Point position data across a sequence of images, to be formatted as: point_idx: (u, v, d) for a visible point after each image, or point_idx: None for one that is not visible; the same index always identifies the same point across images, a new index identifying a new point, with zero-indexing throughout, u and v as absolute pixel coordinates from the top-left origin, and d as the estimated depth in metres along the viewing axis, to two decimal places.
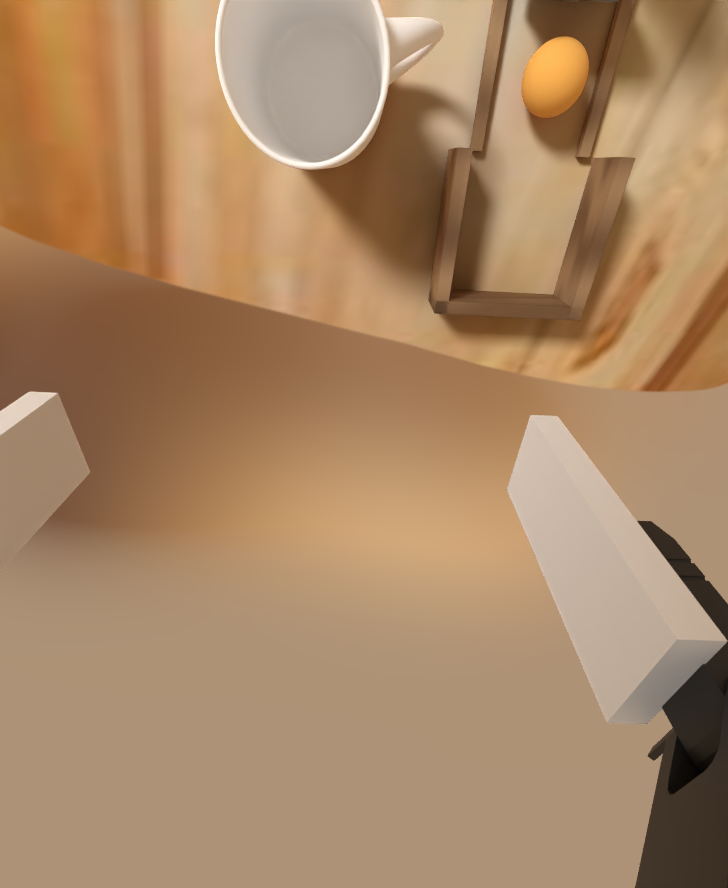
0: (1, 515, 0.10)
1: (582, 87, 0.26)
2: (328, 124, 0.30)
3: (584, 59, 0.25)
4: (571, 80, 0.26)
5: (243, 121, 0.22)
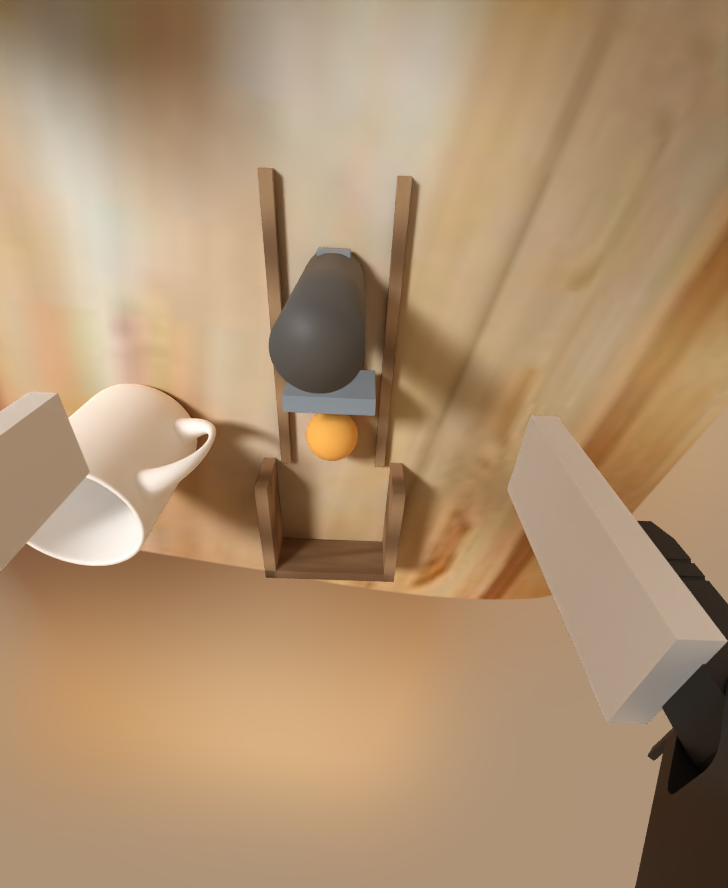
0: (1, 515, 0.10)
1: (351, 449, 0.31)
2: None
3: (346, 437, 0.30)
4: (336, 453, 0.31)
5: (34, 542, 0.27)
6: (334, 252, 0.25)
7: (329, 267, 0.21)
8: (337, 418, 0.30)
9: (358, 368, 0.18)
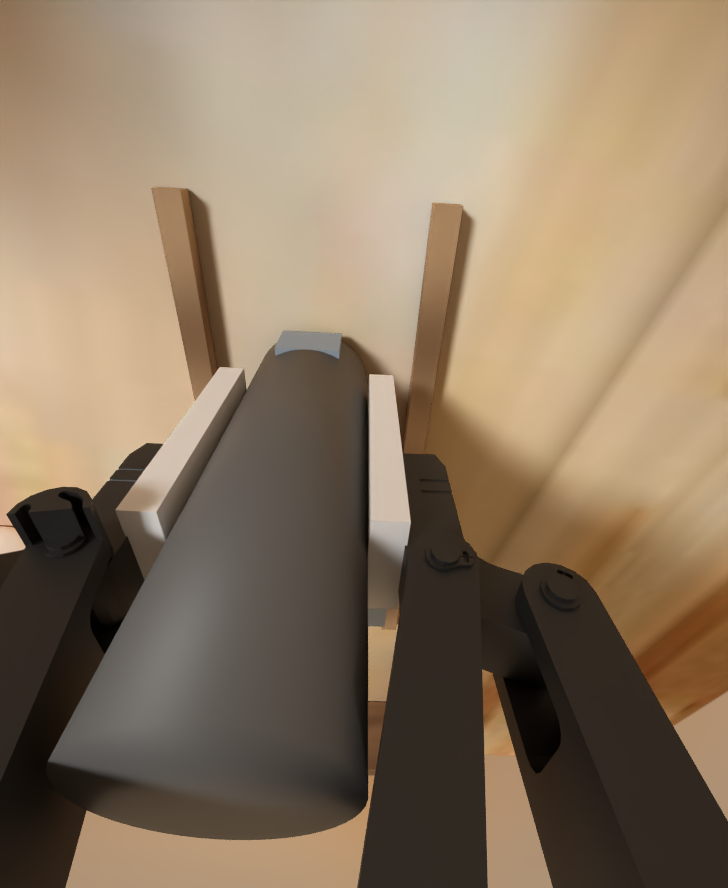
0: None
1: None
2: None
3: None
4: None
5: None
6: (309, 347, 0.13)
7: (288, 413, 0.10)
8: None
9: (348, 815, 0.06)
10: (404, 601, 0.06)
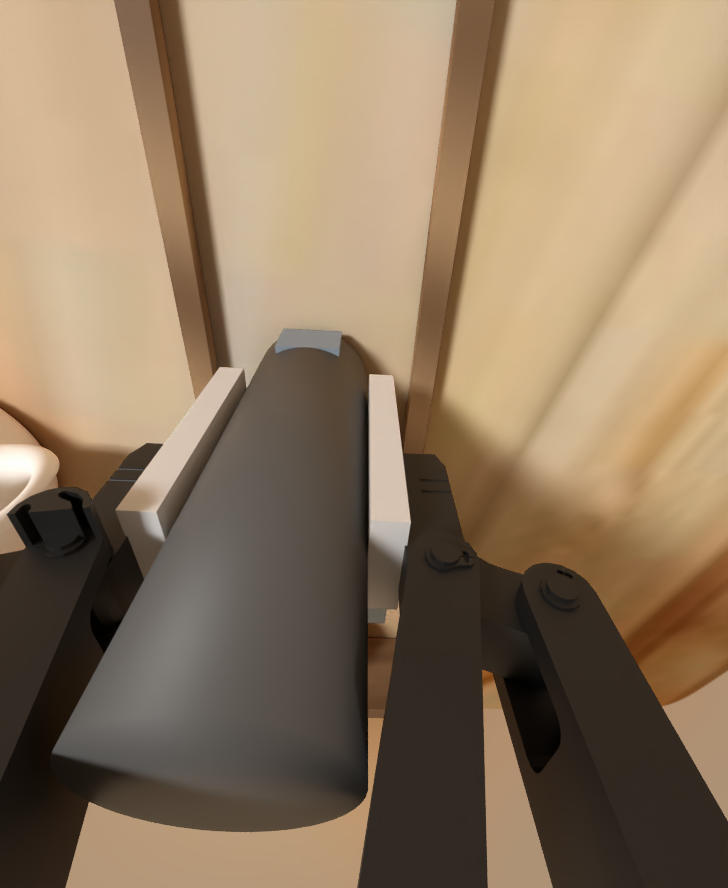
0: None
1: None
2: None
3: None
4: None
5: None
6: (309, 345, 0.13)
7: (288, 411, 0.10)
8: None
9: (348, 806, 0.06)
10: (404, 601, 0.06)
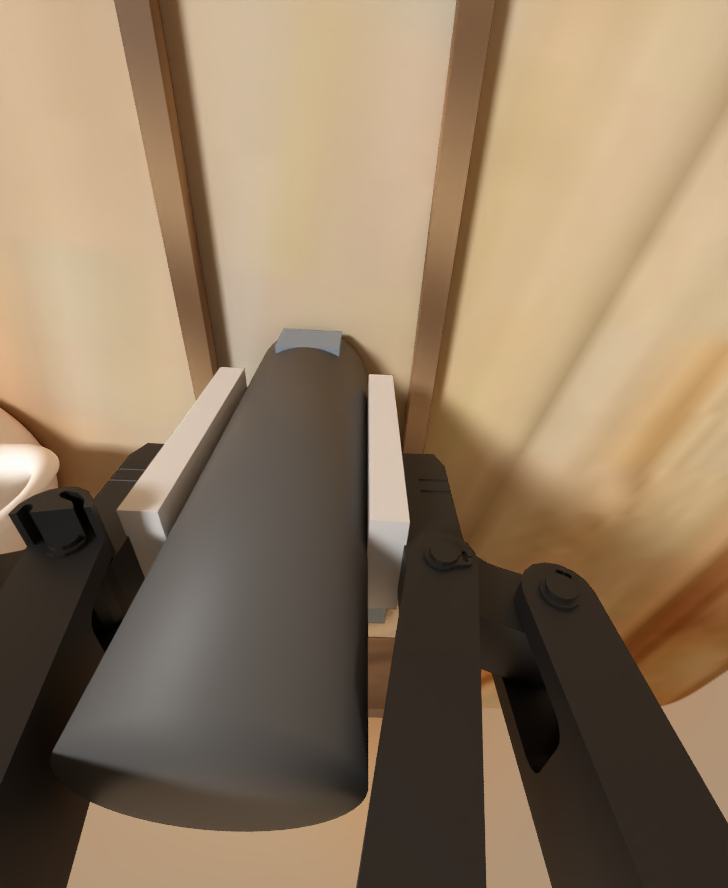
0: None
1: None
2: None
3: None
4: None
5: None
6: (309, 345, 0.13)
7: (288, 411, 0.10)
8: None
9: (348, 806, 0.06)
10: (403, 601, 0.06)
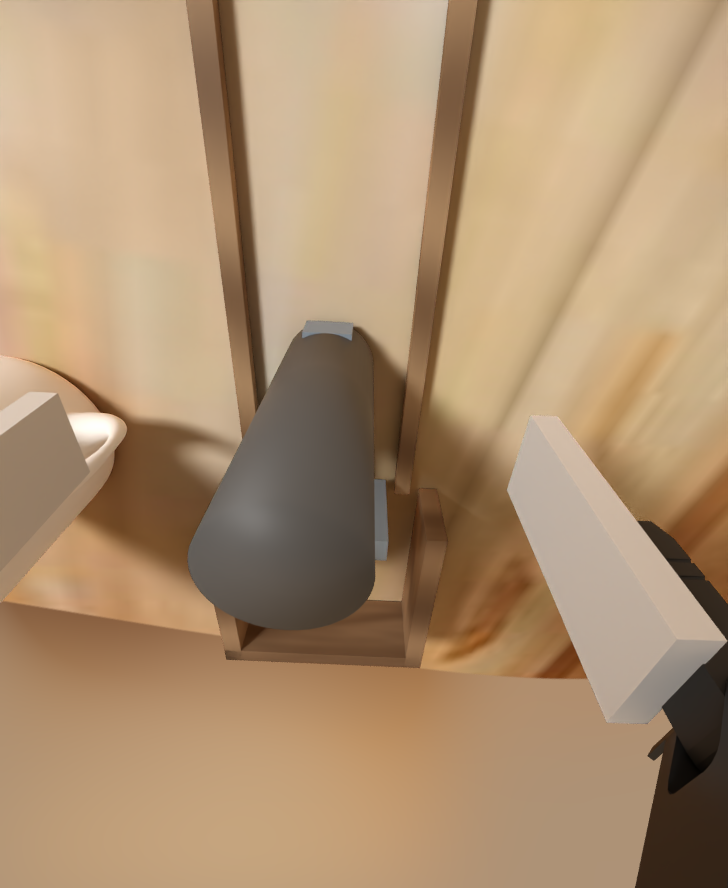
0: (1, 515, 0.10)
1: None
2: None
3: None
4: None
5: None
6: (328, 332, 0.17)
7: (317, 372, 0.13)
8: None
9: (362, 598, 0.09)
10: None
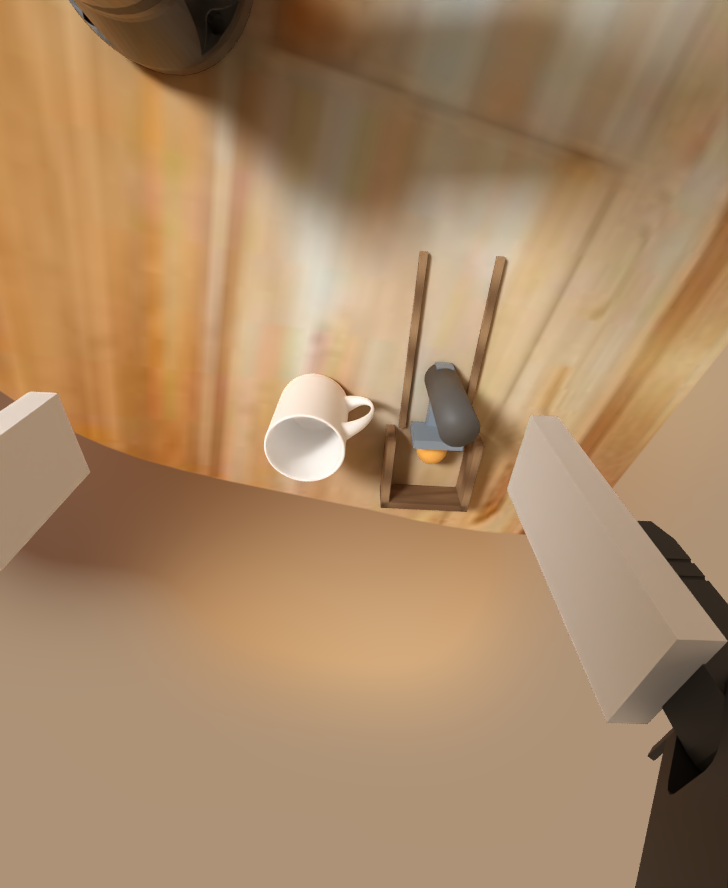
0: (1, 515, 0.10)
1: None
2: None
3: None
4: None
5: (275, 465, 0.45)
6: (446, 367, 0.48)
7: (452, 383, 0.44)
8: None
9: (475, 437, 0.41)
10: None
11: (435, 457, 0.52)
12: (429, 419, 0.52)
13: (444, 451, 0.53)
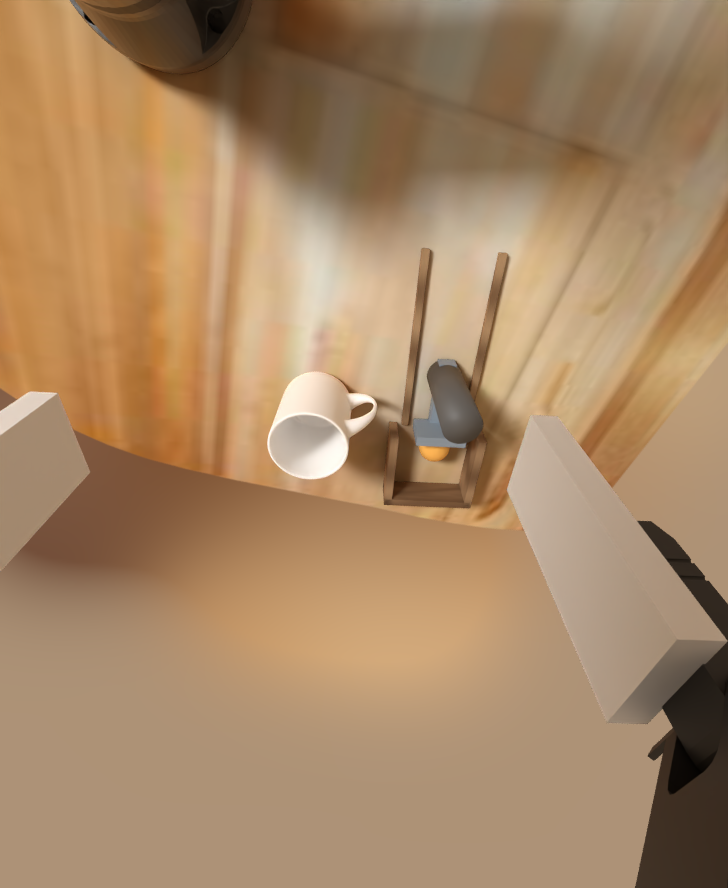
0: (1, 515, 0.10)
1: None
2: None
3: None
4: None
5: (279, 463, 0.45)
6: (448, 364, 0.48)
7: (454, 379, 0.44)
8: None
9: (478, 433, 0.41)
10: None
11: (438, 456, 0.53)
12: (432, 416, 0.52)
13: (447, 449, 0.53)
